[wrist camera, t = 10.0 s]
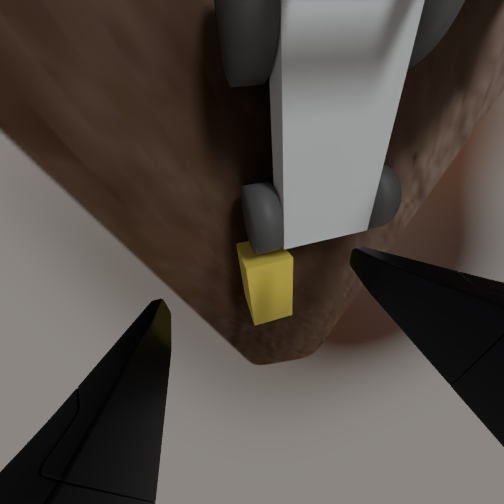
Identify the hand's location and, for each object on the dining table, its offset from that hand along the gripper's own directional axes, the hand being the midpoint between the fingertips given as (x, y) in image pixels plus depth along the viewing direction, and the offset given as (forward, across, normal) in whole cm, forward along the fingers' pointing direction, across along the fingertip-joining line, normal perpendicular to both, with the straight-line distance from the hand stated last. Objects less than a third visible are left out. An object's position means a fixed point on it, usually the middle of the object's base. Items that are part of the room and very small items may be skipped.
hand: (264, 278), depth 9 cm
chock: (+12, -2, +9) cm, 15 cm away
